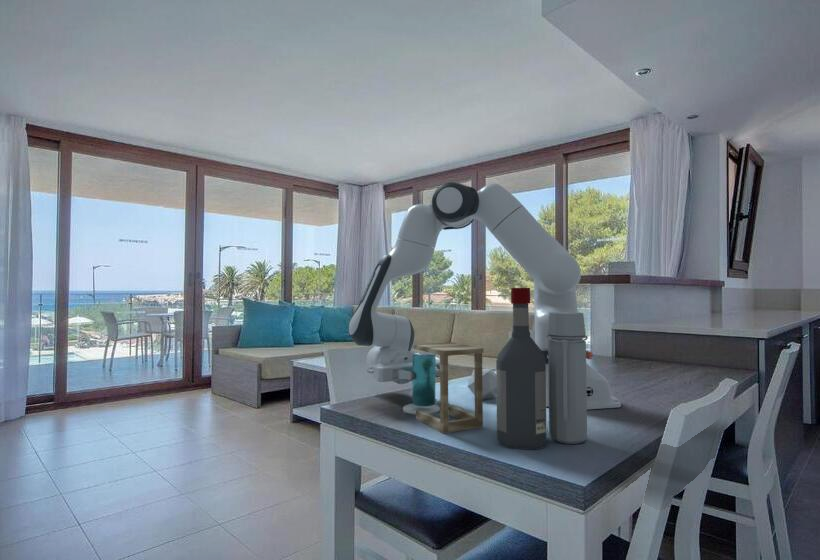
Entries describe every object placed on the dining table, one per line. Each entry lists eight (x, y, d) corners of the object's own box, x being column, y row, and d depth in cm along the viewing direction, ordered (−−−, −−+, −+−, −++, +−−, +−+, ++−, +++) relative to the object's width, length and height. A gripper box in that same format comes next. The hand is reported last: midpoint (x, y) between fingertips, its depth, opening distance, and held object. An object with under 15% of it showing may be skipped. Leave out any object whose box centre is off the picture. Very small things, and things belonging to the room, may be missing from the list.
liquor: (496, 447, 88) (494, 288, 89) (500, 433, 97) (498, 288, 98) (546, 451, 86) (544, 287, 86) (545, 436, 95) (544, 287, 95)
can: (434, 400, 117) (434, 351, 117) (436, 406, 112) (436, 354, 112) (411, 400, 117) (412, 351, 117) (412, 406, 111) (413, 354, 112)
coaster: (437, 405, 120) (437, 402, 120) (441, 414, 111) (441, 412, 111) (402, 405, 120) (402, 403, 120) (403, 415, 111) (403, 412, 111)
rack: (414, 418, 108) (414, 344, 108) (451, 413, 113) (451, 342, 113) (444, 434, 96) (443, 351, 97) (484, 427, 101) (483, 348, 101)
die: (496, 405, 123) (510, 373, 127) (468, 389, 123) (482, 357, 127) (486, 409, 130) (499, 378, 134) (459, 394, 130) (473, 364, 134)
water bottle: (549, 431, 98) (547, 311, 98) (589, 436, 95) (588, 312, 95) (543, 445, 89) (542, 313, 90) (588, 451, 86) (586, 314, 87)
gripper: (364, 357, 121) (386, 365, 109) (432, 352, 131) (460, 359, 118) (364, 381, 121) (386, 392, 109) (433, 375, 130) (460, 384, 118)
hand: (425, 375), depth 114 cm, fingers closed on can, 6 cm apart
